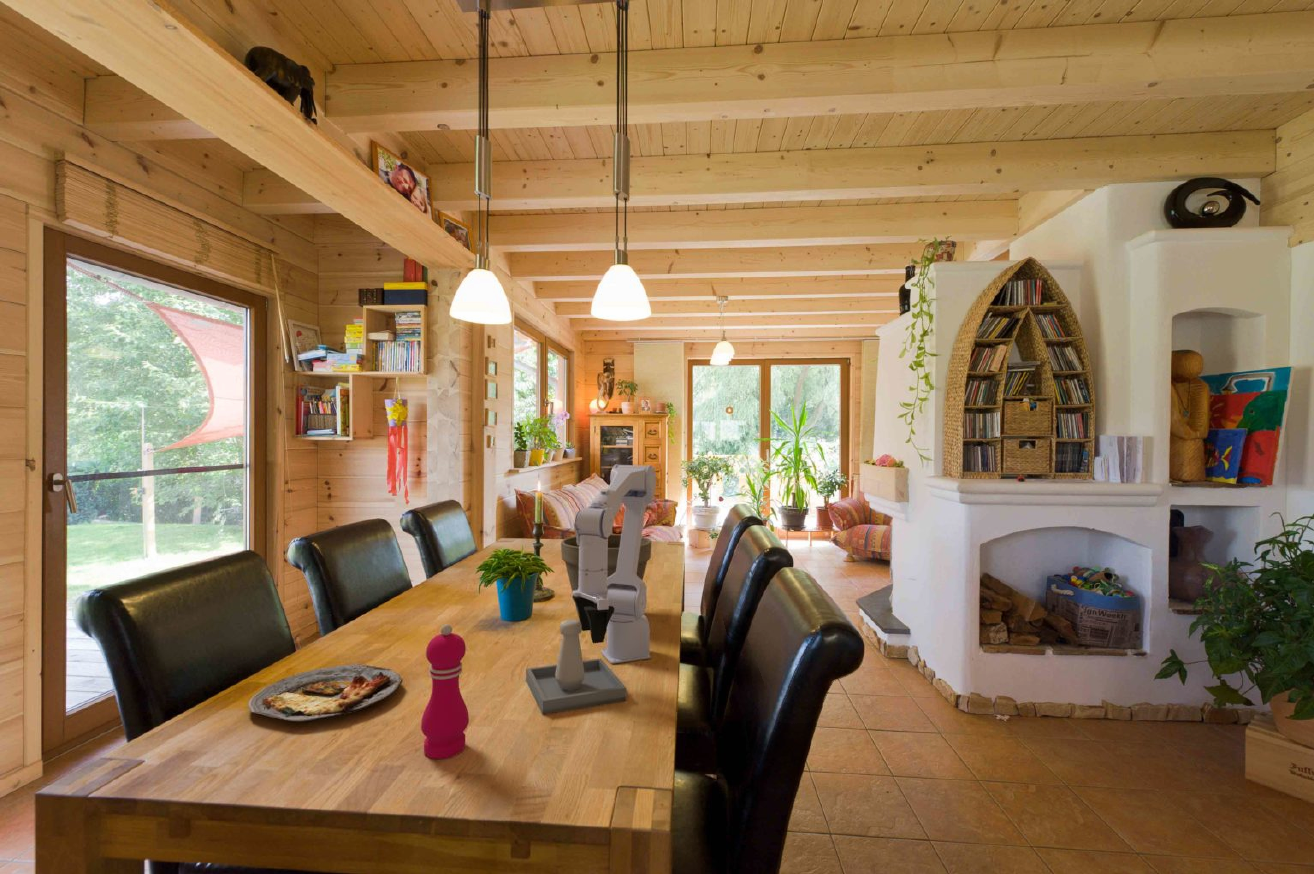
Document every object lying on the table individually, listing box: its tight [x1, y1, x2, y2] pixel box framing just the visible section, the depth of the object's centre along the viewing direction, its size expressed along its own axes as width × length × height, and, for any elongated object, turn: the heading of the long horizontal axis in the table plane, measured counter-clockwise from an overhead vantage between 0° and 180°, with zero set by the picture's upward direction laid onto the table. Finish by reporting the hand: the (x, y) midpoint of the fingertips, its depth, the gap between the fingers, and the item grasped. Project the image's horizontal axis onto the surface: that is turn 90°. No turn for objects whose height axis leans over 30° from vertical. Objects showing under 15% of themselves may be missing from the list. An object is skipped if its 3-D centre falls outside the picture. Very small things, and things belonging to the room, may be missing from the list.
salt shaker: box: [555, 618, 585, 691], centre depth 119 cm, size 6×6×13 cm
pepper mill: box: [420, 623, 470, 760], centre depth 97 cm, size 7×7×20 cm
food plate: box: [248, 663, 403, 723], centre depth 114 cm, size 25×23×4 cm
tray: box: [525, 657, 627, 716], centre depth 119 cm, size 16×16×2 cm
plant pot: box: [560, 533, 652, 621], centre depth 166 cm, size 25×25×22 cm
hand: (592, 635), depth 121 cm, fingers open, 7 cm apart
